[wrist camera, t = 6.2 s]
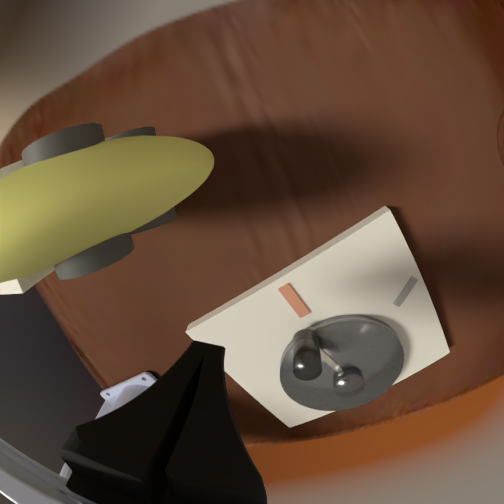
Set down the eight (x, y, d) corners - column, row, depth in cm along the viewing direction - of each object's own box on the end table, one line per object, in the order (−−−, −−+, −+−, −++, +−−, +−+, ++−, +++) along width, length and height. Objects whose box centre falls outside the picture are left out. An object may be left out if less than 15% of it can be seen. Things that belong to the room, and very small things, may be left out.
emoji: (74, 232, 22) (252, 189, 18) (-73, 326, 8) (108, 352, 4) (57, 175, 20) (234, 110, 17) (-104, 239, 6) (23, 59, 3)
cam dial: (418, 362, 22) (433, 397, 18) (326, 415, 25) (328, 451, 21) (354, 281, 19) (368, 318, 16) (246, 355, 23) (240, 395, 19)
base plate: (289, 420, 27) (289, 429, 26) (188, 324, 23) (184, 333, 22) (445, 345, 22) (450, 353, 21) (385, 205, 18) (390, 210, 17)
